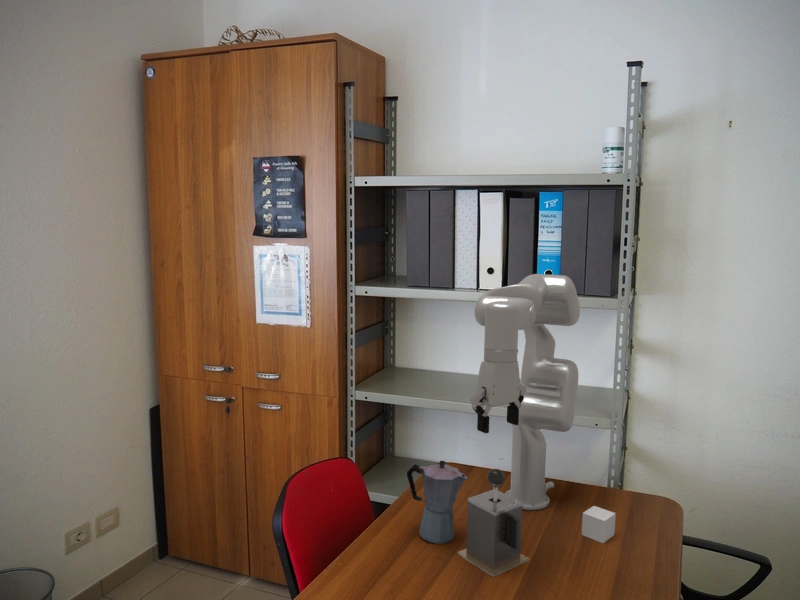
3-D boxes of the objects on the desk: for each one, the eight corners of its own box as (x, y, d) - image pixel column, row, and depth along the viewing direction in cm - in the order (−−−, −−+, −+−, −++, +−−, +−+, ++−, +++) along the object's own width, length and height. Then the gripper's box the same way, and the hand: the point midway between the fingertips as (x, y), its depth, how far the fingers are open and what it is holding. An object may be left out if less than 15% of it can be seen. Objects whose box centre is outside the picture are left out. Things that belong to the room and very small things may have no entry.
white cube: (614, 535, 161) (615, 513, 160) (603, 543, 157) (604, 521, 156) (592, 527, 165) (594, 505, 164) (581, 535, 161) (582, 512, 160)
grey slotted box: (492, 539, 157) (494, 485, 156) (533, 563, 147) (536, 505, 145) (457, 554, 150) (459, 497, 148) (497, 580, 140) (500, 519, 138)
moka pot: (463, 548, 153) (465, 470, 150) (401, 541, 156) (402, 464, 153) (467, 530, 162) (469, 456, 160) (408, 523, 165) (410, 450, 163)
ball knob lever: (493, 527, 153) (495, 462, 151) (513, 538, 148) (515, 470, 146) (474, 535, 149) (476, 468, 147) (494, 546, 144) (496, 477, 142)
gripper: (514, 348, 151) (511, 416, 153) (461, 357, 141) (459, 430, 143) (538, 353, 145) (535, 425, 147) (485, 363, 135) (482, 439, 137)
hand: (498, 427), depth 145 cm, fingers open, 9 cm apart
